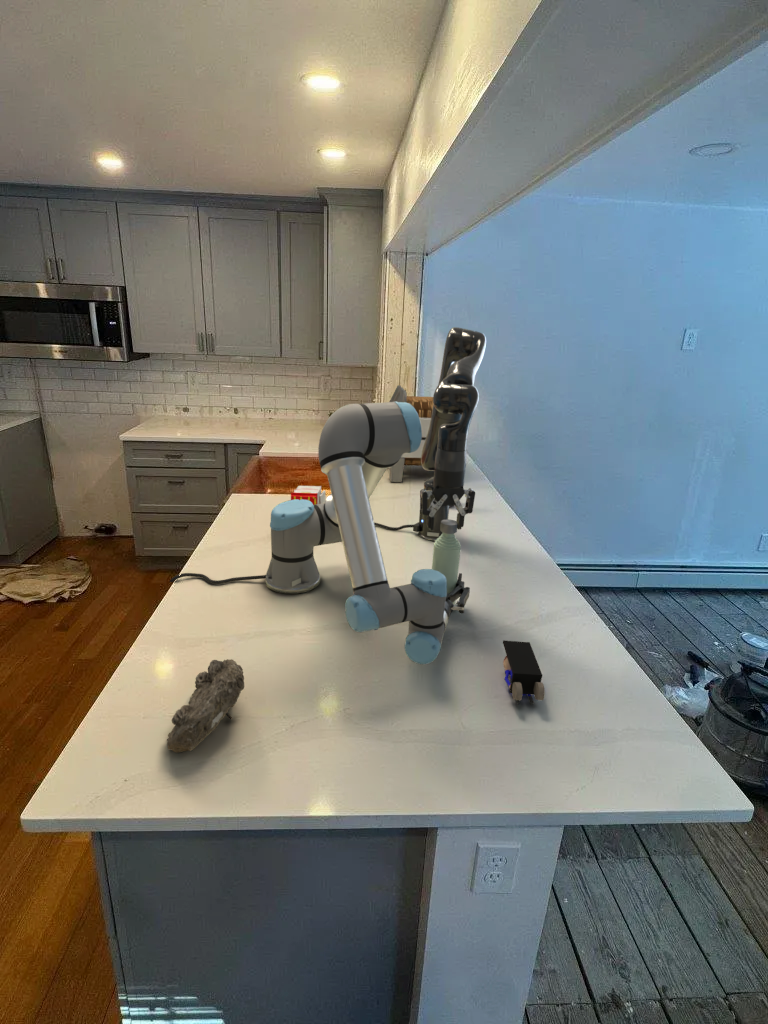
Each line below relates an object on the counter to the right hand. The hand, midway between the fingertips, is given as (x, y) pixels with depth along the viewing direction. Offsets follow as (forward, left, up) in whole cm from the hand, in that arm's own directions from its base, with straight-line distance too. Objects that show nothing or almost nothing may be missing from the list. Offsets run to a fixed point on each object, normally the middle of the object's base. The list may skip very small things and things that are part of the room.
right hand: (444, 528), depth 145 cm
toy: (-71, +26, -22) cm, 79 cm away
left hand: (-1, +5, -16) cm, 17 cm away
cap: (+1, +1, +2) cm, 2 cm away
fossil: (-11, -65, -22) cm, 70 cm away
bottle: (+1, +1, -22) cm, 22 cm away
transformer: (-73, +107, -22) cm, 132 cm away
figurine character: (+32, -20, -22) cm, 44 cm away
